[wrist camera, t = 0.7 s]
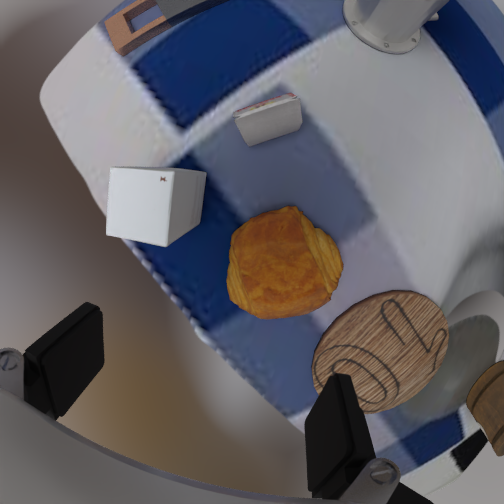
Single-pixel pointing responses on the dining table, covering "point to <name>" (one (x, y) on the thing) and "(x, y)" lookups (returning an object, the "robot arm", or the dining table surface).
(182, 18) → the rail
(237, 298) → the croissant
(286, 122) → the white printed paper bag
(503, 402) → the wooden container
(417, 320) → the trivet
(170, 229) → the supplement box
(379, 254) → the dining table surface
